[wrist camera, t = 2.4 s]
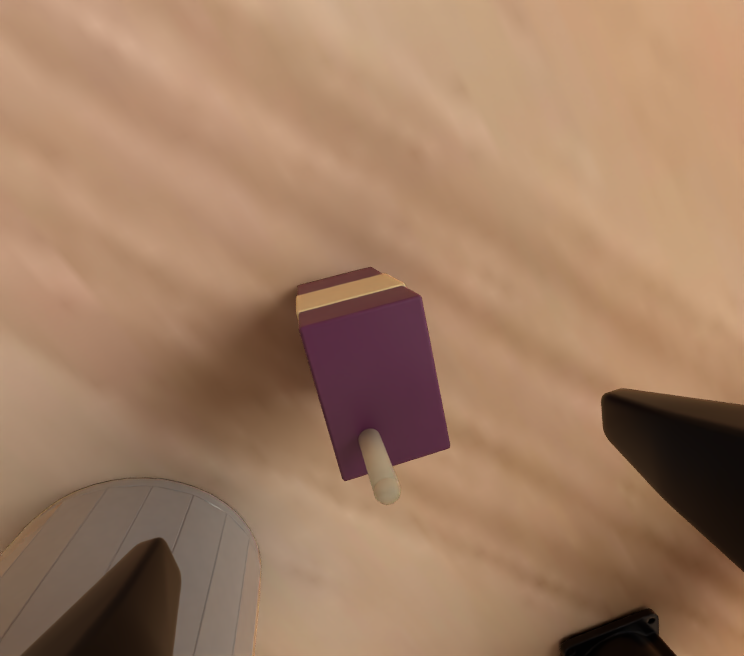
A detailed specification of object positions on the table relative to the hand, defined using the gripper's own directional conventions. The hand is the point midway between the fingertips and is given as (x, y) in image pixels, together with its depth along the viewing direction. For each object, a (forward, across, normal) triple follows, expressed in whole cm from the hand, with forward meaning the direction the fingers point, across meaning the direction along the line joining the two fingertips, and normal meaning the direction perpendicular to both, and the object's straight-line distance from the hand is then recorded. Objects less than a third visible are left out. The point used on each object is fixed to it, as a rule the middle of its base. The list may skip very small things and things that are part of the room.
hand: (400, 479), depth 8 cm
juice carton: (+10, 0, 0) cm, 10 cm away
